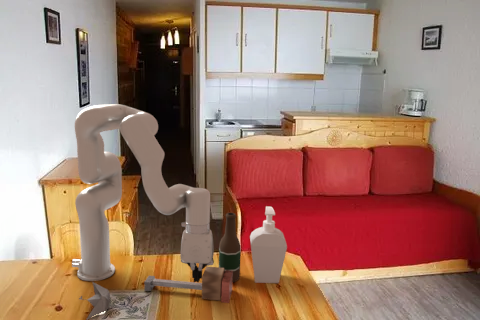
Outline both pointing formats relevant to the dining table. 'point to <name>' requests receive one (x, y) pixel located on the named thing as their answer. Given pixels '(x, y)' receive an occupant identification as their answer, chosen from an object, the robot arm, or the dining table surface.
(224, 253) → the beer bottle
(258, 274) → the soap bottle
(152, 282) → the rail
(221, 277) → the block
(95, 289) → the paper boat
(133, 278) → the dining table surface
